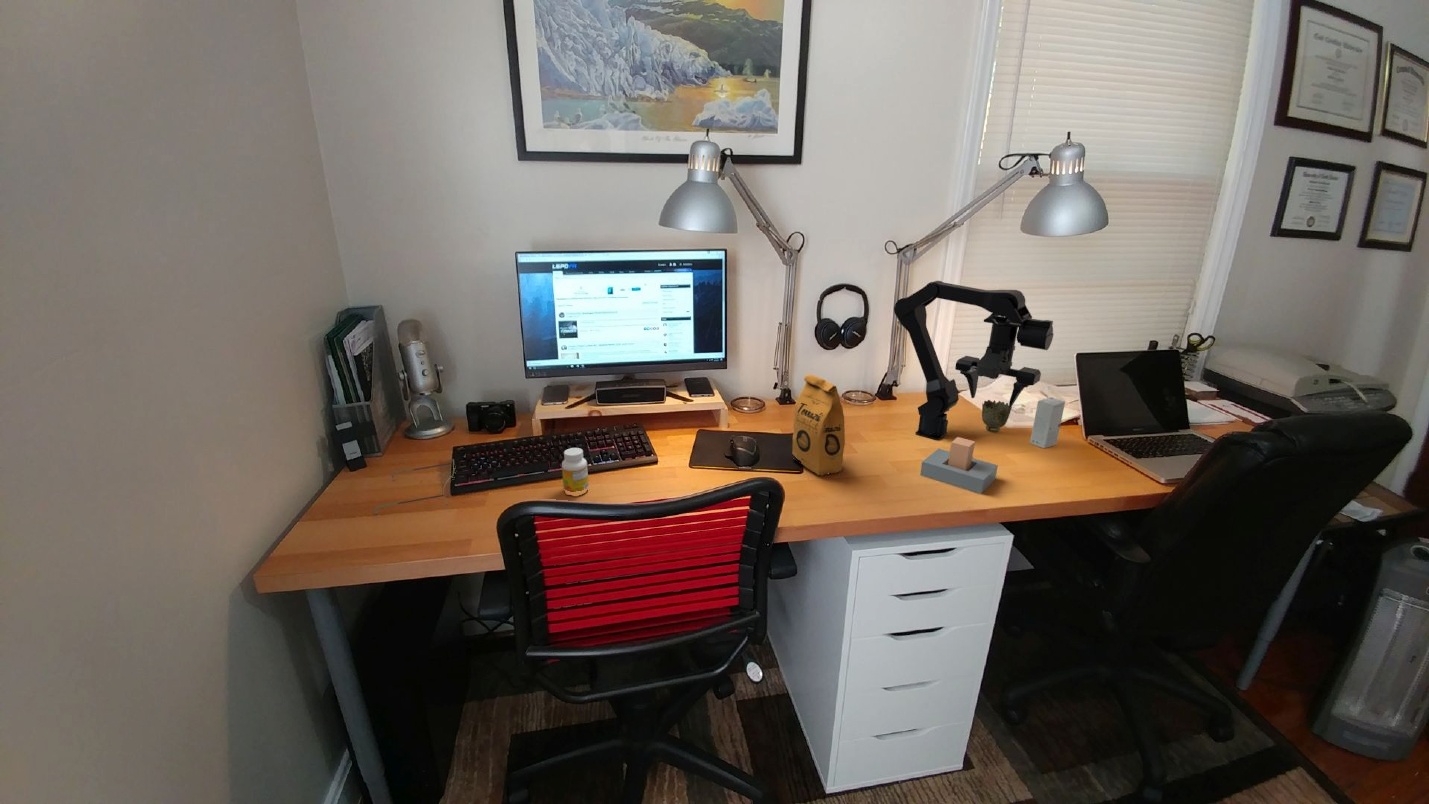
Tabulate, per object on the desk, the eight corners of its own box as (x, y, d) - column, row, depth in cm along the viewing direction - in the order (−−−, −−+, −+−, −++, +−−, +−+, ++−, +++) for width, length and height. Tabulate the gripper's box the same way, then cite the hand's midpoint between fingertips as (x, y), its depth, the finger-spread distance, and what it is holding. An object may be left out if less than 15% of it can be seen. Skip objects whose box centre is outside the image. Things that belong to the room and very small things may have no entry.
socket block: (920, 474, 142) (922, 461, 140) (936, 461, 149) (938, 448, 148) (981, 494, 133) (983, 480, 132) (995, 478, 140) (997, 465, 139)
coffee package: (813, 480, 139) (820, 390, 131) (786, 458, 149) (791, 374, 142) (849, 472, 142) (857, 385, 135) (820, 452, 153) (826, 370, 146)
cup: (984, 423, 173) (989, 397, 170) (1011, 431, 168) (1016, 404, 165) (973, 430, 168) (978, 403, 165) (1000, 438, 163) (1005, 410, 160)
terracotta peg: (945, 477, 141) (951, 442, 138) (951, 471, 144) (957, 437, 140) (963, 482, 138) (969, 446, 135) (968, 476, 141) (974, 441, 138)
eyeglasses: (453, 507, 126) (449, 486, 125) (375, 517, 123) (370, 495, 121) (462, 474, 141) (459, 454, 139) (392, 481, 137) (388, 461, 135)
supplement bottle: (561, 488, 134) (557, 449, 130) (584, 483, 136) (581, 444, 133) (568, 499, 129) (564, 458, 126) (592, 493, 132) (589, 453, 128)
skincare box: (1045, 449, 156) (1054, 405, 152) (1028, 443, 160) (1037, 400, 156) (1057, 443, 160) (1067, 401, 155) (1041, 438, 163) (1050, 396, 159)
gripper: (951, 341, 147) (942, 401, 152) (1032, 356, 135) (1019, 420, 140) (968, 333, 154) (959, 391, 160) (1047, 347, 142) (1034, 408, 148)
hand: (991, 402), depth 152 cm, fingers open, 9 cm apart
